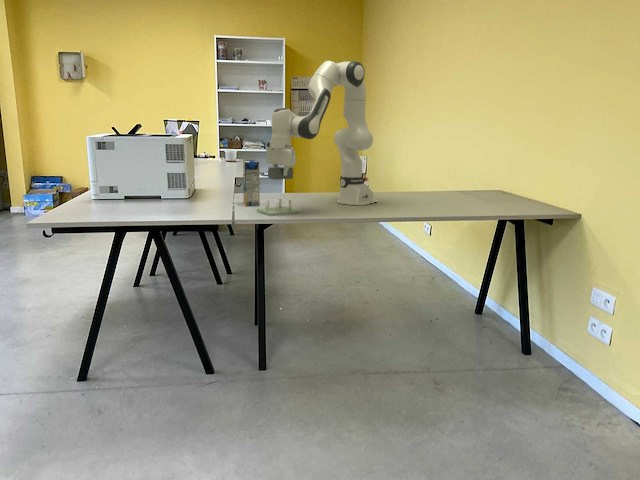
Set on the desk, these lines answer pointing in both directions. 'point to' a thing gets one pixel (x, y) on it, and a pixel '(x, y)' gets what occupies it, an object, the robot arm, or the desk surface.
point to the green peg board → (278, 209)
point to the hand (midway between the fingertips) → (280, 174)
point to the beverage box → (251, 182)
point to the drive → (279, 173)
